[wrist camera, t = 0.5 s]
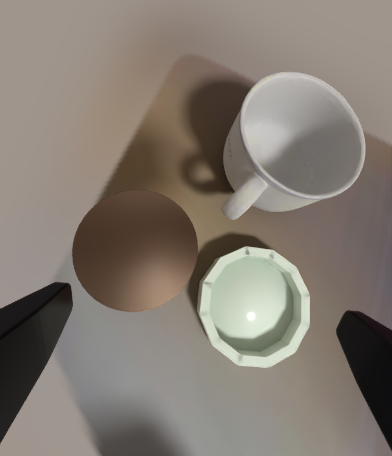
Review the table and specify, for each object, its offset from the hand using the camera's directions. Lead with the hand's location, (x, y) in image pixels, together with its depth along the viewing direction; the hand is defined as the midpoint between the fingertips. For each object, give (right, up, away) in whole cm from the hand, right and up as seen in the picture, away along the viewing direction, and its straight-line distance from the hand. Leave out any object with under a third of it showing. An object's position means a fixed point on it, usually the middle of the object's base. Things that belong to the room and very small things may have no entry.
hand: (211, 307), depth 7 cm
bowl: (+5, -5, +14) cm, 16 cm away
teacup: (+6, +8, +17) cm, 20 cm away
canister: (-4, -1, +14) cm, 15 cm away
